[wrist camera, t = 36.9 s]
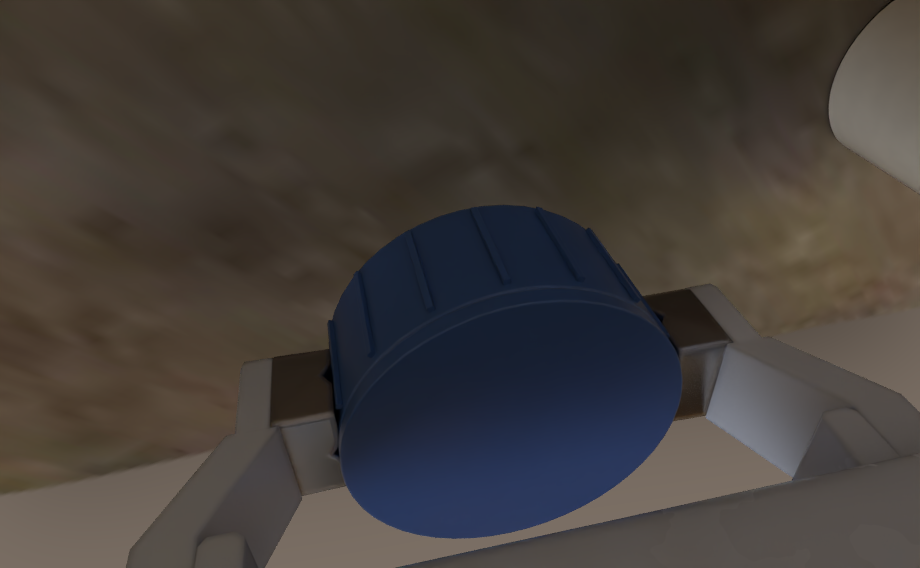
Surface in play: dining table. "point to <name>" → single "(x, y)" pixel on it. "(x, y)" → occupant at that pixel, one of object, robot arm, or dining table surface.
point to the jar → (882, 94)
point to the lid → (495, 374)
